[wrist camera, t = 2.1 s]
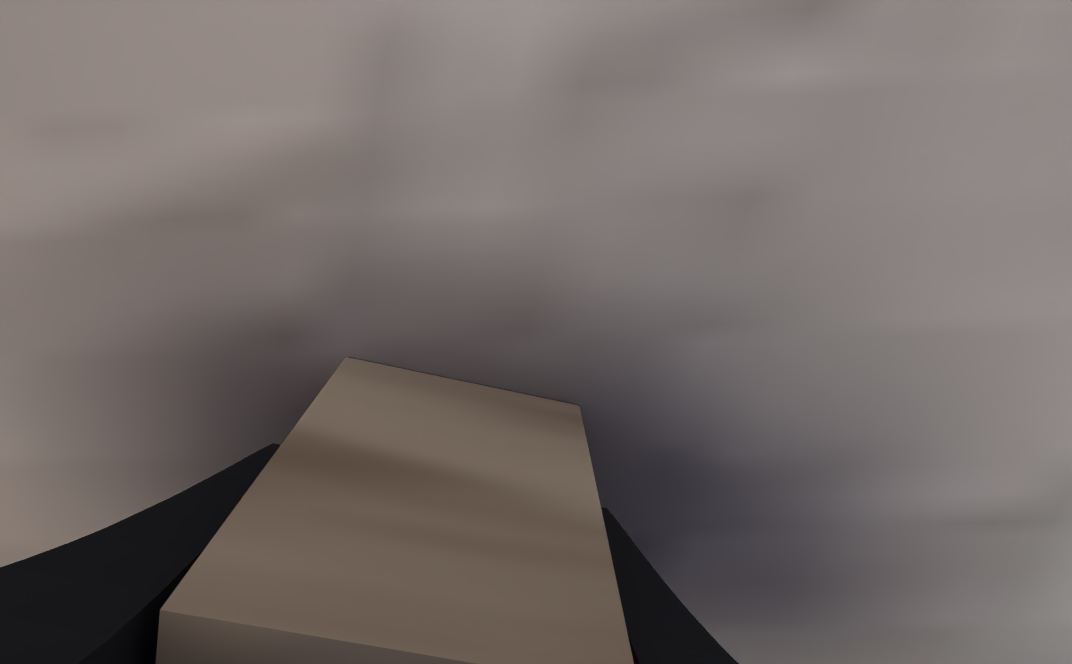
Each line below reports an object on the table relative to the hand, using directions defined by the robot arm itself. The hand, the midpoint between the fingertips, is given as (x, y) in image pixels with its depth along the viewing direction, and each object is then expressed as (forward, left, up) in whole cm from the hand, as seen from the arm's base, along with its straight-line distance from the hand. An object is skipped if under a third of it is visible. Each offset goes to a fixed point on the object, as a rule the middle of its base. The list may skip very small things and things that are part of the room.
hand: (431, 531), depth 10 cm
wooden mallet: (-4, 0, -1) cm, 4 cm away
